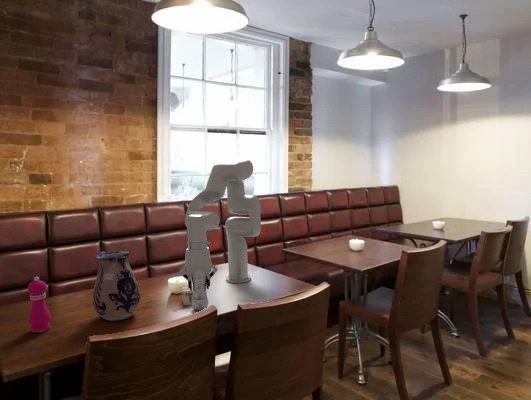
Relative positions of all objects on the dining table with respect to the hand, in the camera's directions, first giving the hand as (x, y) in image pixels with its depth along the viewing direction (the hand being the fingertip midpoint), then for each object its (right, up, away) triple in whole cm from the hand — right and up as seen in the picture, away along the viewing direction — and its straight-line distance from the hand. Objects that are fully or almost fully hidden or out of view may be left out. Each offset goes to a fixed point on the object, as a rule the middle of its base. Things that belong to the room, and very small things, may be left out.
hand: (199, 288), depth 170 cm
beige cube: (-5, -8, +10) cm, 14 cm away
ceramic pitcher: (-33, -10, -4) cm, 34 cm away
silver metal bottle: (0, -9, +1) cm, 9 cm away
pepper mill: (-56, -12, -16) cm, 59 cm away
